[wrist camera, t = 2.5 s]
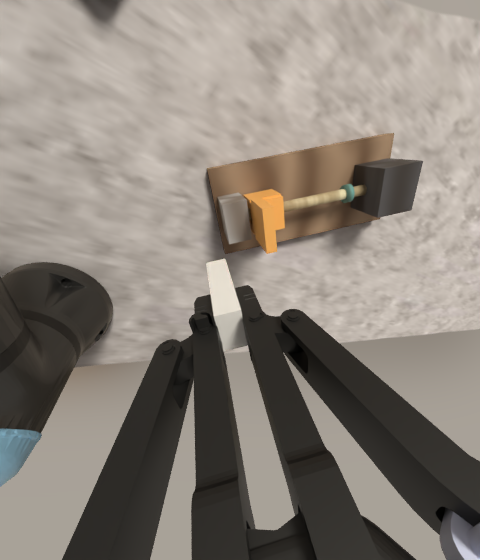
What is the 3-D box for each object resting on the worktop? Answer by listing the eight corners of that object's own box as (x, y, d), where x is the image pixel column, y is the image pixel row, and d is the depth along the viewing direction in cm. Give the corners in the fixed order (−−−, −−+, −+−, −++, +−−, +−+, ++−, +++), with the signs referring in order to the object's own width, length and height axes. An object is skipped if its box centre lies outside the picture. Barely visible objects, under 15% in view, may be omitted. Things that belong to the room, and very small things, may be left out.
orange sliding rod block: (248, 227, 34) (266, 253, 26) (242, 192, 31) (262, 209, 23) (274, 222, 34) (300, 245, 26) (271, 186, 32) (300, 200, 24)
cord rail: (224, 250, 37) (231, 272, 31) (206, 168, 31) (212, 174, 24) (373, 216, 39) (409, 230, 33) (386, 133, 33) (433, 131, 27)
